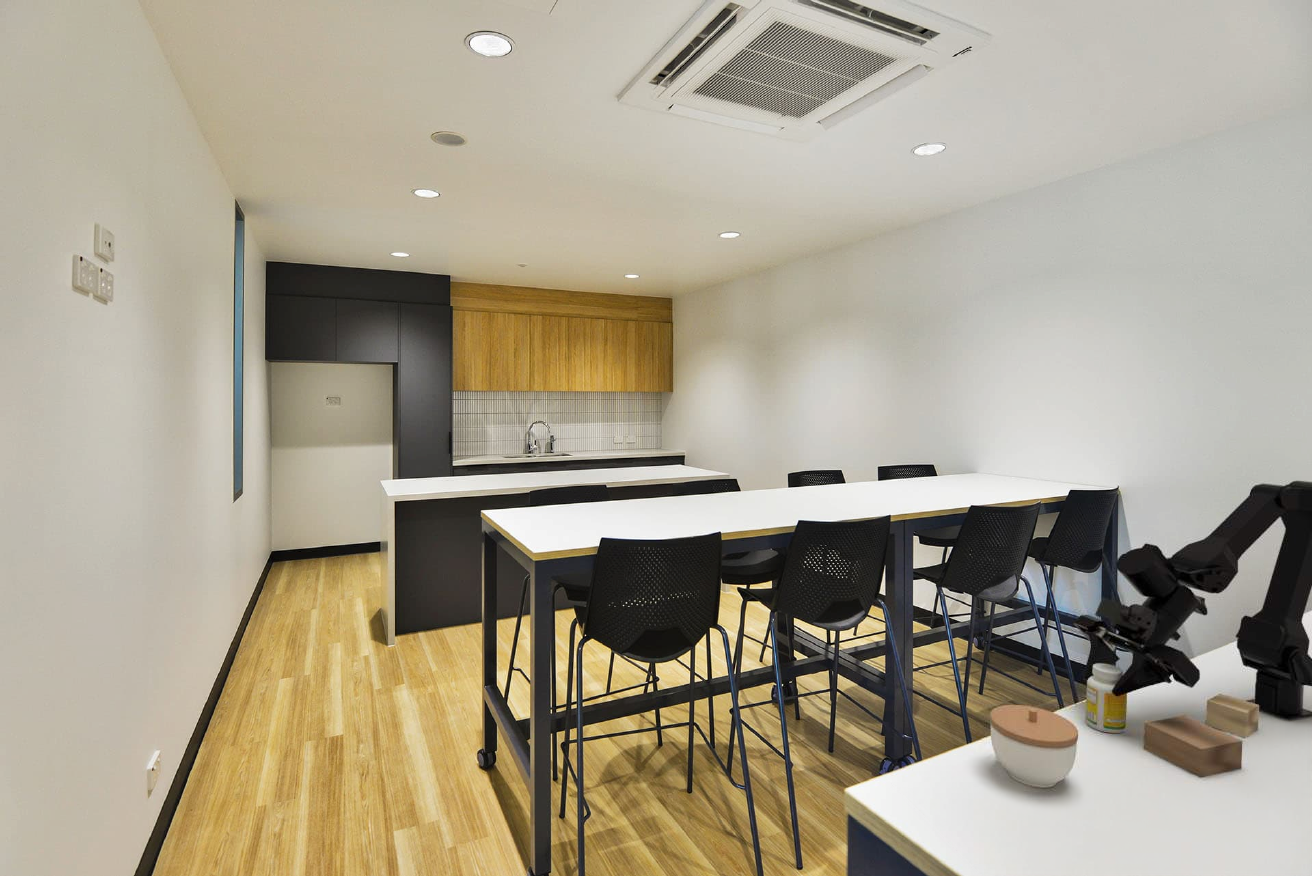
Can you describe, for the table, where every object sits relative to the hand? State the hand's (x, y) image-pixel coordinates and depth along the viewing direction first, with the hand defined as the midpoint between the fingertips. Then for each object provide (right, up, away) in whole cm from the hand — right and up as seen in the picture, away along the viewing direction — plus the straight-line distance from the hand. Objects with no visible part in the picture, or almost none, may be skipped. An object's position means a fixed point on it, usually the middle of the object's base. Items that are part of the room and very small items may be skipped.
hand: (1099, 686), depth 106 cm
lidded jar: (-19, -8, -13) cm, 24 cm away
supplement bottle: (+1, -7, +1) cm, 7 cm away
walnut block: (+7, -7, -9) cm, 14 cm away
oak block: (+21, -6, 0) cm, 22 cm away
